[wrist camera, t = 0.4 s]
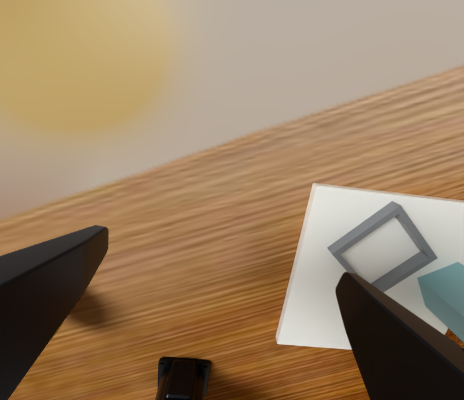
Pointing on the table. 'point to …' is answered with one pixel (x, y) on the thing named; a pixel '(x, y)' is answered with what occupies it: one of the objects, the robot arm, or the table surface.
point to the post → (446, 296)
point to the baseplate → (362, 258)
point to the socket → (371, 225)
